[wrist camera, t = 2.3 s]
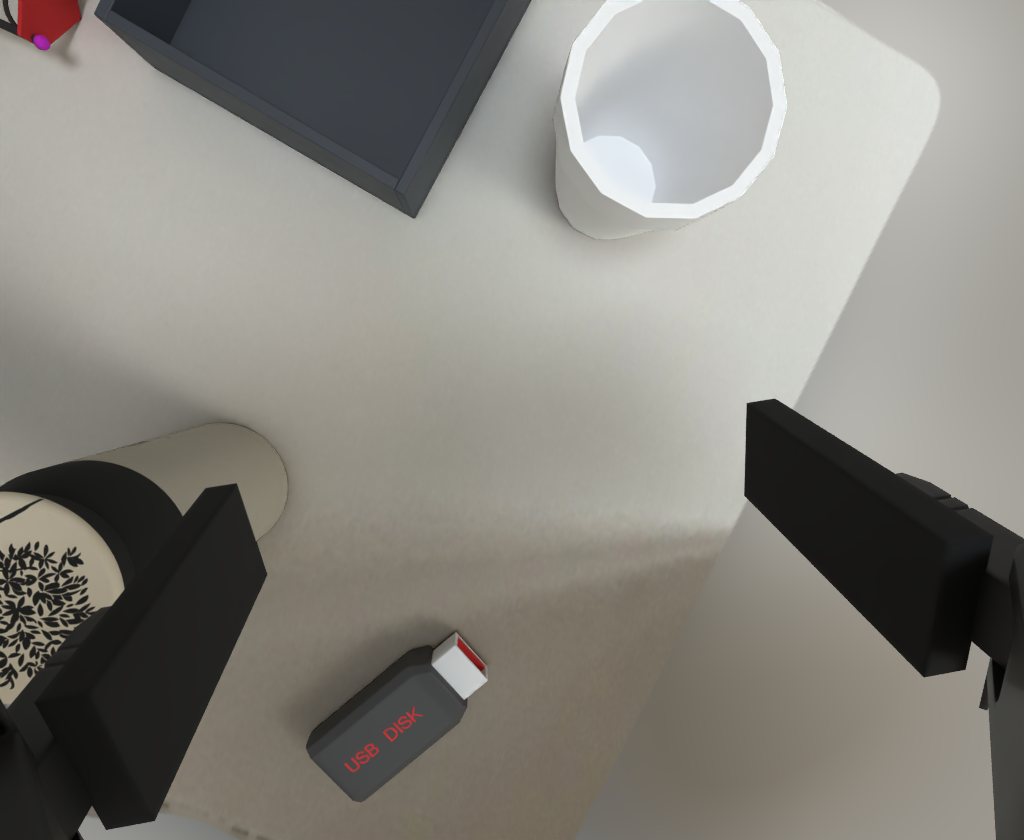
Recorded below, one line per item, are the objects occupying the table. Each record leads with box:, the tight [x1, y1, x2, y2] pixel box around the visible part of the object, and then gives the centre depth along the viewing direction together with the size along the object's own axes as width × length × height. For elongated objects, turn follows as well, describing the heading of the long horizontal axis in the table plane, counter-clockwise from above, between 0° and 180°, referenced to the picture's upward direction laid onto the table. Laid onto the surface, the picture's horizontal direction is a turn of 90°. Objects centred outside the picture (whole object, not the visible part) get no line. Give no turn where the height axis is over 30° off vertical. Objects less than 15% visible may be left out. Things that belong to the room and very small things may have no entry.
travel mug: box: [0, 423, 288, 704], centre depth 29 cm, size 8×8×18 cm
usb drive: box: [306, 632, 488, 802], centre depth 39 cm, size 5×12×3 cm, turn 130°
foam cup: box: [553, 0, 787, 239], centre depth 31 cm, size 10×9×13 cm
